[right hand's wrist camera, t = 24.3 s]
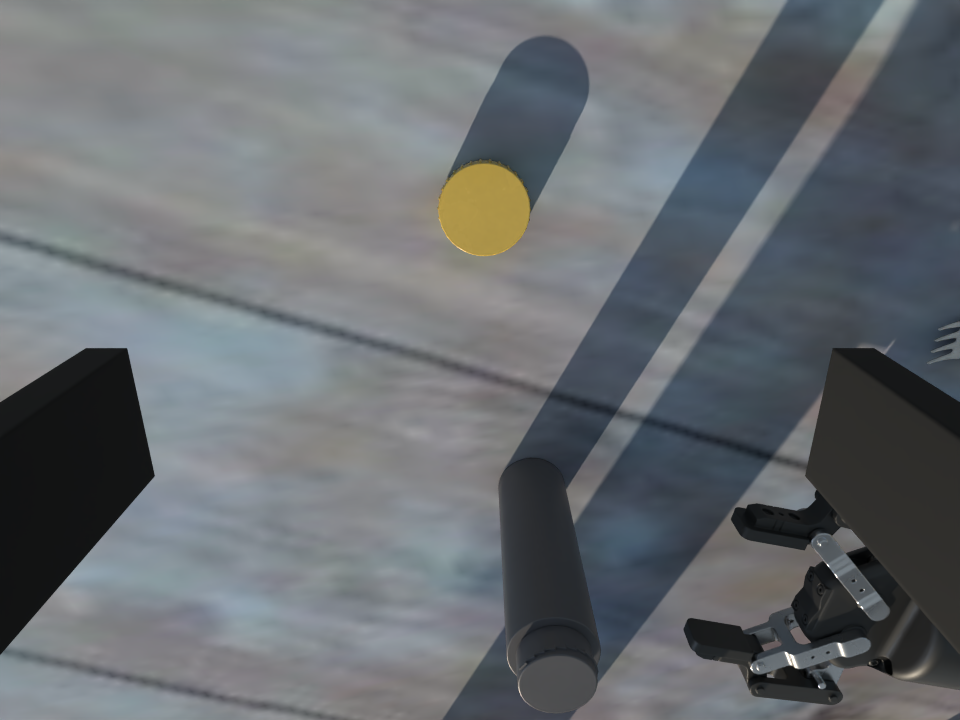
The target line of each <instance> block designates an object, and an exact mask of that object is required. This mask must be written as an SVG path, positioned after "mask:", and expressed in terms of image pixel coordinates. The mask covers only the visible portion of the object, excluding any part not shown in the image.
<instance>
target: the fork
mask: <svg viewBox="0 0 960 720" xmlns="http://www.w3.org/2000/svg"><path fill="white" fill-rule="evenodd" d="M954 327H960V321H958V322H955V323H952V324H949V325H946V326H943V327H941V328H938V330H939V331H941V330H943V329H948V328H954ZM951 338H956V341H955V342H953V343H951V344H948V345H945V346H942V347H939V348H937V349H935V350H932V351H931V352H932V353H934V352H938V351H942V350H947V349H953V351H952V352H951V353H949V354H946V355H943V356H941V357H938V358H936V359H933V360H931V361H929V362H927V364H931V363H934V362H938V361H942V360H948V359H960V330H959V331H957V332H955V333H951V334H948V335H946V336H943V337H940V338H938V339H936V340H934V341H936V342H938V341H941V340H946V339H951Z"/></svg>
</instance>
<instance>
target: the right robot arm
mask: <svg viewBox="0 0 960 720" xmlns="http://www.w3.org/2000/svg"><path fill="white" fill-rule="evenodd" d="M154 476H155V475H154V470H153V466H152V461H151V456H150V452H149V447H148V442H147V438H146V433H145V429H144V424H143V419H142V415H141V410H140V405H139V401H138V396H137V392H136V387H135V382H134V378H133V373H132V369H131V364H130V359H129V355H128V350H127V348H86V349H84V350H82V351H81V352H79V353H78V354H76V355H75V356H73V357H71V358H70V359H68V360H67V361H65V362H63V363H62V364H60V365H59V366H57V367H55V368H54V369H52V370H51V371H49V372H48V373H46V374H44V375H43V376H41V377H40V378H38V379H36V380H35V381H33V382H32V383H30V384H29V385H27V386H25V387H24V388H22V389H21V390H19V391H17V392H16V393H14V394H13V395H11V396H9V397H8V398H6V399H5V400H3V401H2V402H0V654H1V653H2V652H3V651H4V650H5V649H6V648H7V646H8V645H9V644H10V643H11V642H12V641H13V639H14V638H15V637H16V636H17V635H18V634H19V633H20V631H21V630H22V629H23V628H24V627H25V626H26V624H27V623H28V622H29V621H30V620H31V619H32V617H33V616H34V615H35V614H36V613H37V612H38V611H39V609H40V608H41V607H42V606H43V605H44V604H45V602H46V601H47V600H48V599H49V598H50V597H51V595H52V594H53V593H54V592H55V591H56V590H57V589H58V587H59V586H60V585H61V584H62V583H63V582H64V580H65V579H66V578H67V577H68V576H69V575H70V574H71V572H72V571H73V570H74V569H75V568H76V567H77V565H78V564H79V563H80V562H81V561H82V560H83V558H84V557H85V556H86V555H87V554H88V553H89V552H90V550H91V549H92V548H93V547H94V546H95V545H96V543H97V542H98V541H99V540H100V539H101V538H102V536H103V535H104V534H105V533H106V532H107V531H108V530H109V528H110V527H111V526H112V525H113V524H114V523H115V521H116V520H117V519H118V518H119V517H120V516H121V515H122V513H123V512H124V511H125V510H126V509H127V508H128V506H129V505H130V504H131V503H132V502H133V501H134V499H135V498H136V497H137V496H138V495H139V494H140V493H141V491H142V490H143V489H144V488H145V487H146V486H147V484H148V483H149V482H150V481H151V480H152V479H153V478H154ZM805 476H806V478H807V479H808V480H809V481H810V482H811V483H812V484H813V486H814V487H815V488H816V489H817V490H818V491H819V493H820V494H821V495H822V496H823V497H824V498H825V499H826V501H827V502H828V503H829V504H830V505H831V506H832V508H833V509H834V510H835V511H836V512H837V513H838V515H839V516H840V517H841V518H842V519H843V520H844V521H845V523H846V524H847V525H848V526H849V527H850V528H851V530H852V531H853V532H854V533H855V534H856V535H857V536H858V538H859V539H860V540H861V541H862V542H863V543H864V545H865V546H866V547H867V548H868V549H869V550H870V552H871V553H872V554H873V555H874V556H875V557H876V558H877V560H878V561H879V562H880V563H881V564H882V565H883V567H884V568H885V569H886V570H887V571H888V572H889V574H890V575H891V576H892V577H893V578H894V579H895V580H896V582H897V583H898V584H899V585H900V586H901V587H902V589H903V590H904V591H905V592H906V593H907V594H908V595H909V597H910V598H911V599H912V600H913V601H914V602H915V604H916V605H917V606H918V607H919V608H920V609H921V611H922V612H923V613H924V614H925V615H926V616H927V617H928V619H929V620H930V621H931V622H932V623H933V624H934V626H935V627H936V628H937V629H938V630H939V631H940V633H941V634H942V635H943V636H944V637H945V638H946V639H947V641H948V642H949V643H950V644H951V645H952V646H953V648H954V649H955V650H956V651H957V652H958V653H959V654H960V402H958V401H957V400H955V399H954V398H952V397H951V396H949V395H947V394H946V393H944V392H943V391H941V390H939V389H938V388H936V387H935V386H933V385H931V384H930V383H928V382H927V381H925V380H924V379H922V378H920V377H919V376H917V375H916V374H914V373H912V372H911V371H909V370H908V369H906V368H905V367H903V366H901V365H900V364H898V363H897V362H895V361H893V360H892V359H890V358H889V357H887V356H885V355H884V354H882V353H881V352H879V351H878V350H876V349H874V348H833V350H832V355H831V359H830V364H829V369H828V373H827V378H826V382H825V387H824V392H823V396H822V401H821V405H820V410H819V415H818V419H817V424H816V429H815V433H814V438H813V442H812V447H811V452H810V456H809V461H808V466H807V470H806V475H805Z"/></svg>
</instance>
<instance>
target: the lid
mask: <svg viewBox="0 0 960 720" xmlns="http://www.w3.org/2000/svg"><path fill="white" fill-rule="evenodd" d="M523 183H524V182H523V180H522V179H520V178H519V177H518V176H517V173H516V171H514V172H513V171H512V170H511V169H510V168H509V166H508V165H507V166H505V165H503V164H501V163H500V161H498V162H495V161H491V159H489V160H481V159H479V160H478V161H473V162H472V160H471V161H470V163H468V164H465V165H463V164H462V165H461V167H460V168H459V169H457V170H454V171H453V174H452V175H451V176H450V178H449V177H448V178H447V180H446V184H445V186H444V185H443V187H442V189H441V190H442V193H441V194H440V196H439V199H438V200H440V201H439V206H438V210H439V219H440V223H441V226H442V228H443V230H444V232H445V234H446V236H447V237H448V238H449V240H450V241H451V242H452V243H453V244H454V245H456V246H457V247H458V248H460V249H461V250H463V251H465V252H467V253H470V254H473V255H478V256H490V255H495V254H499V253H501V252H504V251H506V250H508V249H509V248H510V247H512V246H513V245H514V244H515V243H516V242H517V241H518V240H519V239H520V238H521V237H522V235H523V233H524V232H525V230H526V228H527V225H528V222H529V220H530V219H529V217H530V211H531V208H530V198H529V196H528V194H527V192H528V190H527V188H526V187H524V185H523Z"/></svg>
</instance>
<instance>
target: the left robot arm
mask: <svg viewBox="0 0 960 720" xmlns="http://www.w3.org/2000/svg"><path fill="white" fill-rule="evenodd" d="M815 498H816V500H815V501H814V502H813V503H812V504H811V505H810V506H809V507H808V508H802V509H799V510H797V511H795V510H790V509H784V508H779V507H773V506H766V505H763V504H750V505H748V506H747V508H746V509H745V508H740V507H737V508H735V510H734V513H733V515H732V517H731V521H732V522H733V524H734V526H735V527H736V529H737V531H738V532H739V534H740V535H741V536H742V537H743V538H745V539H747V540H751V541H756V542H762V543H767V544H773V545H778V546H784V547H789V548H795V549H800V550H805V549H806V546H807V544H810V545H811V546H812V547H813V548H814V550H815V551H816V552H817V553H818V555H819V556H820V557H821V558H822V559H823V561H822V562H821V563H819V564H818V565H817V566H816V567H812V566H810V568H809V570H808V572H807V574H806V576H805V581H804V586H803V588H802V589H801V590H800V591H799V592H798V594H797V595H796V596H795V598H794V600H793V602H792V604H791V607H790V608H787V609H784V610H781V611H778V612H775V613H773V614H771V615H770V617H769V621H768V622H766V623H763V624H760V625H757V626H754V627H752V628H749V629H746V630H743V631H742V629H741V627H740V626H735V625H729V624H723V623H717V622H711V621H705V620H700V619H694V618H689V619H688V620H687V622H686V624H685V627H684V632H685V635H686V638H687V640H688V643H689V645H690V647H691V649H692V650H693V651H695V652H696V654H697V655H698V656H700V657H702V658H703V659H709V660H712V659H713V660H715V661H718V660H719V661H722V662H728V663H734V664H738V666H739V668H740V670H741V672H742V674H743V676H744V678H745V681H746V683H747V686H748V688H749V690H750V693H751V694H752V695H753V696H756V697H764V698H773V699H782V700H791V701H800V702H809V703H818V704H827V705H834V704H837V703H839V702H840V701H841V700H842V698H843V695H842V693H841V691H840V690H839V688H838V686H837V682H838V680H839V678H840V676H841V674H842V672H843V669H844V668H853V667H857V666H870V667H872V668H875V669H877V670H879V671H881V672H883V673H885V674H887V675H889V676H891V677H894V678H896V679H899V680H903V681H908V682H914V683H920V684H926V685H932V686H938V687H944V688H950V689H956V690H960V654H959V653H958V652H957V651H956V650H955V649H954V648H953V646H952V645H951V644H950V643H949V642H948V641H947V639H946V638H945V637H944V636H943V635H942V634H941V633H940V631H939V630H938V629H937V628H936V627H935V626H934V624H933V623H932V622H931V621H930V620H929V619H928V617H927V616H926V615H925V614H924V613H923V612H922V611H921V609H920V608H919V607H918V606H917V605H916V604H915V602H914V601H913V600H912V599H911V598H910V597H909V595H908V594H907V593H906V592H905V591H904V590H903V589H902V587H901V586H900V585H899V584H898V583H897V582H896V580H895V579H894V578H893V577H892V576H891V575H890V574H889V572H888V571H887V570H886V569H885V568H884V567H883V565H882V564H881V563H880V562H879V561H878V560H877V558H876V557H875V556H874V555H873V554H872V553H871V552H870V550H869V549H868V548H867V547H863V548H860V549H857V550H854V551H851V552H848V553H845V552H844V551H843V549H842V548H841V547H840V546H839V544H838V543H837V542H836V541H835V539H834V538H833V537H832V535H833V534H834V533H835V532H836V531H837V530H838V529H839V528H840V527H844V528H848V529H851V528H850V527H849V526H848V525H847V524H846V523H845V521H844V520H843V519H842V518H841V517H840V516H839V515H838V513H837V512H836V511H835V510H834V509H833V508H832V506H831V505H830V504H829V503H828V502H827V501H826V499H825V498H824V497H823V496H822V495H821V494H820V493H819V491H818V490H816V492H815ZM798 626H800V628H801V630H802V631H803V633H804V635H805V636H806V637H807V638H808V639H809V640H810V641H811V643H808V644H804V645H802V644H799V643H797V642H796V641H795V639H794V638H793V636H792V634H791V633H790V630H791V629H793V628H795V627H798ZM773 641H779V642H780V643H781V644H782V645H781V646H779V647H776V648H773V649H770V650H767V651H764V650H763V648H762V646H761V645H764V644H767V643H770V642H773ZM767 674H771V675H772V676H774V677H775V678H768V677H767Z"/></svg>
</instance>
